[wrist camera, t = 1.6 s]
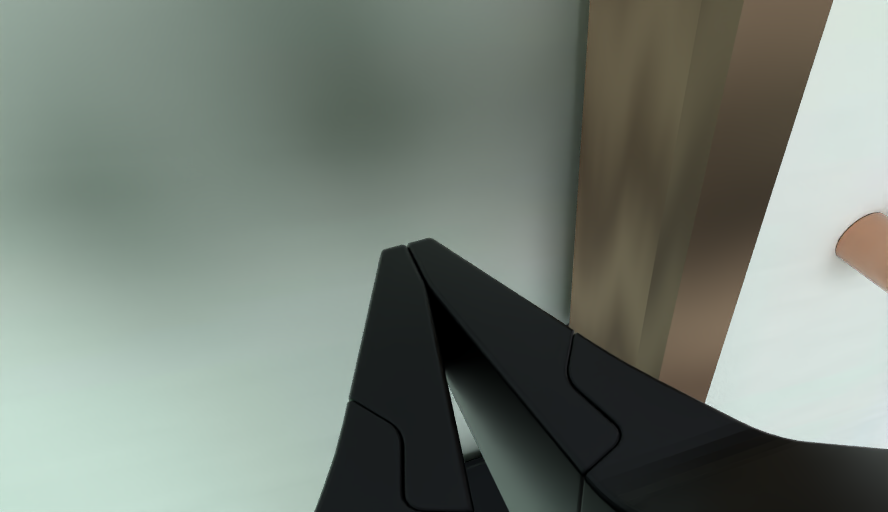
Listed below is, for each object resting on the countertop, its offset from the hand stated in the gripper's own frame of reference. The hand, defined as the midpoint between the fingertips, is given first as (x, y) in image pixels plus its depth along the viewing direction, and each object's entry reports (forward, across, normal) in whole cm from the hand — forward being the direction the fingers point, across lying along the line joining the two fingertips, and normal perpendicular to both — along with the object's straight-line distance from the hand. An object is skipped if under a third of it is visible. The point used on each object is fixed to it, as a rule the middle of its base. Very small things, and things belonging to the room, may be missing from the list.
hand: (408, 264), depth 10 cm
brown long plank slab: (+6, -7, +2) cm, 10 cm away
